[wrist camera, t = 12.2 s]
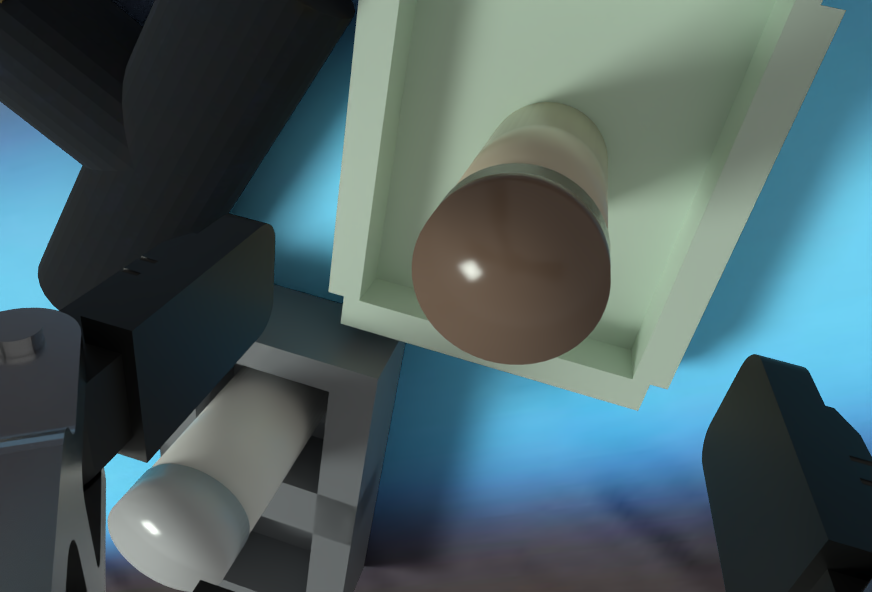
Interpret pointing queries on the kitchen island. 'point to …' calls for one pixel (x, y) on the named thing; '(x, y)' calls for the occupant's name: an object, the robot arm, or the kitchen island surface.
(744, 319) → the kitchen island surface
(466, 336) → the cylinder
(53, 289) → the pipe connector
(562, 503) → the kitchen island surface
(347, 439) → the fuse block
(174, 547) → the cylinder
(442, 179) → the parts tray
